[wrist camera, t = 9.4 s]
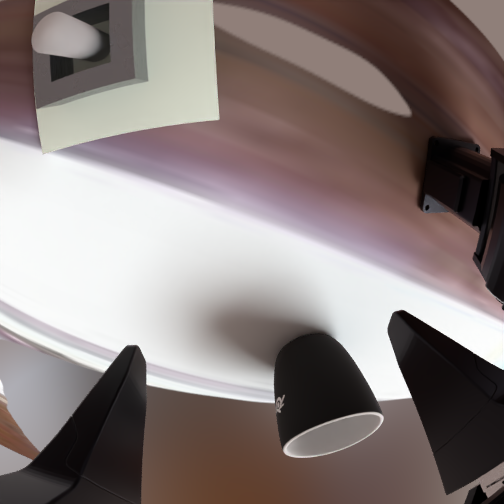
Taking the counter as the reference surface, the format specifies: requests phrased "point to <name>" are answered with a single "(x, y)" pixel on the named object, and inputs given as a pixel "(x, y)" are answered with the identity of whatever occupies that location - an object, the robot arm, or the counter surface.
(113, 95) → the peg board
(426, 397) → the robot arm
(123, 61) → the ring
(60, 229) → the counter surface
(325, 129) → the counter surface
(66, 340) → the counter surface
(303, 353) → the mug
